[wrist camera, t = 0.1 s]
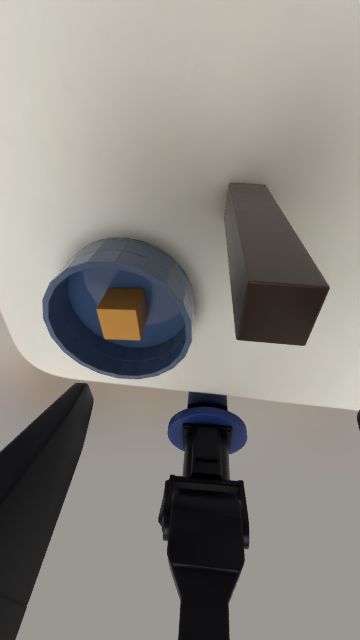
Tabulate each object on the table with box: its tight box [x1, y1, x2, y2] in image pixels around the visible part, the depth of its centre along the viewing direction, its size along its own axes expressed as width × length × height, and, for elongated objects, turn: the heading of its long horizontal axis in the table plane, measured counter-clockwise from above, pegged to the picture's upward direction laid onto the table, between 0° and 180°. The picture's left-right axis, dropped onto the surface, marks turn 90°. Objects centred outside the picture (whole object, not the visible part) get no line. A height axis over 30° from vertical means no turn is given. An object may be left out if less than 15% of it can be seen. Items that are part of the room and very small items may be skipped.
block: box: [96, 288, 148, 340], centre depth 25 cm, size 3×3×3 cm
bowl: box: [43, 238, 194, 379], centre depth 25 cm, size 13×13×4 cm
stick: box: [224, 183, 330, 346], centre depth 15 cm, size 3×3×14 cm
